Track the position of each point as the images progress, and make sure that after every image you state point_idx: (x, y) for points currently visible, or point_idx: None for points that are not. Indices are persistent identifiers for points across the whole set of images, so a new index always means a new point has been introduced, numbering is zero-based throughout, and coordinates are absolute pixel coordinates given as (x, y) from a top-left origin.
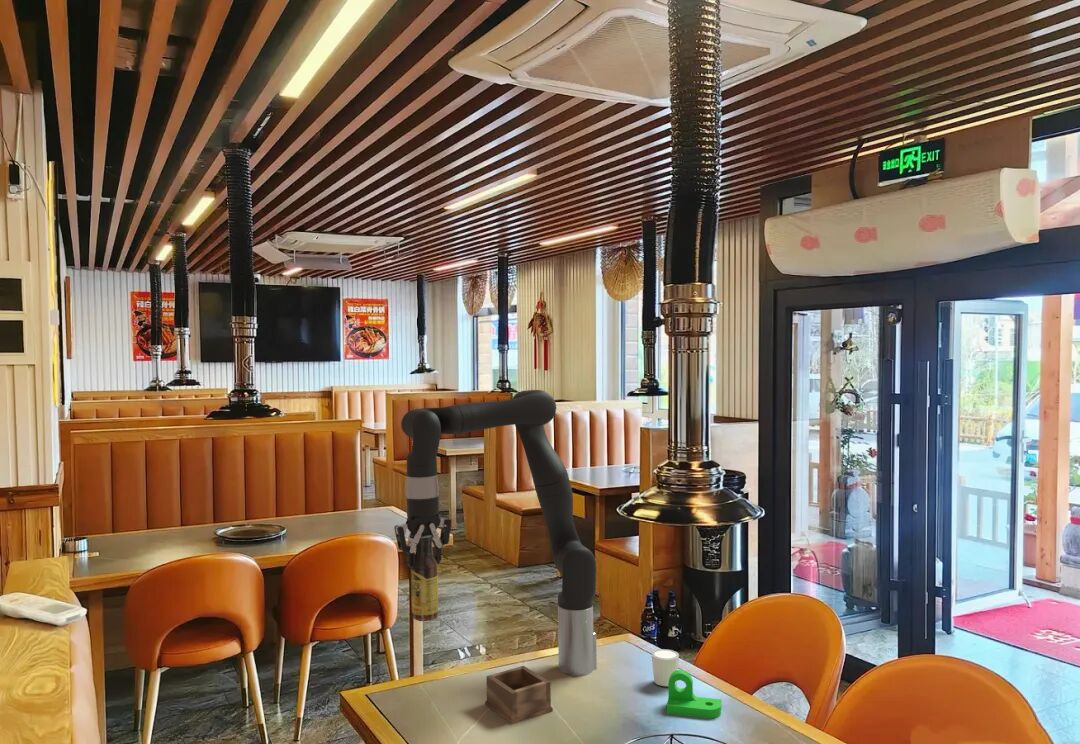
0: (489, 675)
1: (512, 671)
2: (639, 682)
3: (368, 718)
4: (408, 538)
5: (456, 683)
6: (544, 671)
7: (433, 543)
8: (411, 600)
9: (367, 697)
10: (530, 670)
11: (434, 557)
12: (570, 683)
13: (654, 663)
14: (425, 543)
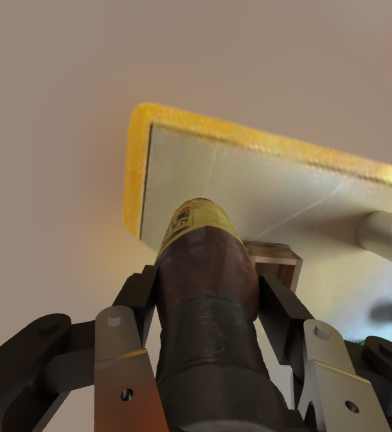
0: (253, 256)
1: (281, 263)
2: (385, 298)
3: (127, 185)
4: (95, 379)
5: (251, 173)
6: (345, 215)
7: (303, 347)
8: (170, 222)
9: (149, 134)
10: (298, 275)
11: (256, 318)
12: (339, 257)
13: None
14: None
